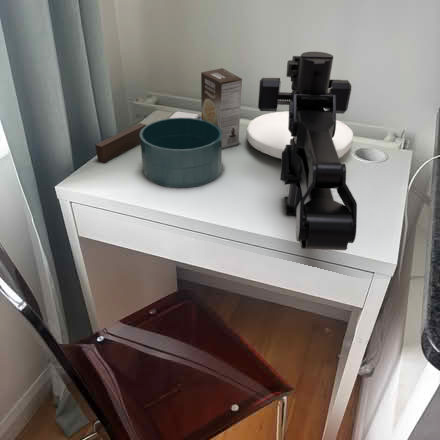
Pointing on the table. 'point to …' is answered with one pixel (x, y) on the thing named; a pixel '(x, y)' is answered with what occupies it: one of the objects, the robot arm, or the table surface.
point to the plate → (288, 134)
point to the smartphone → (184, 115)
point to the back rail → (119, 143)
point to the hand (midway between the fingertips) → (299, 83)
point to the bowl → (181, 152)
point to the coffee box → (222, 103)
